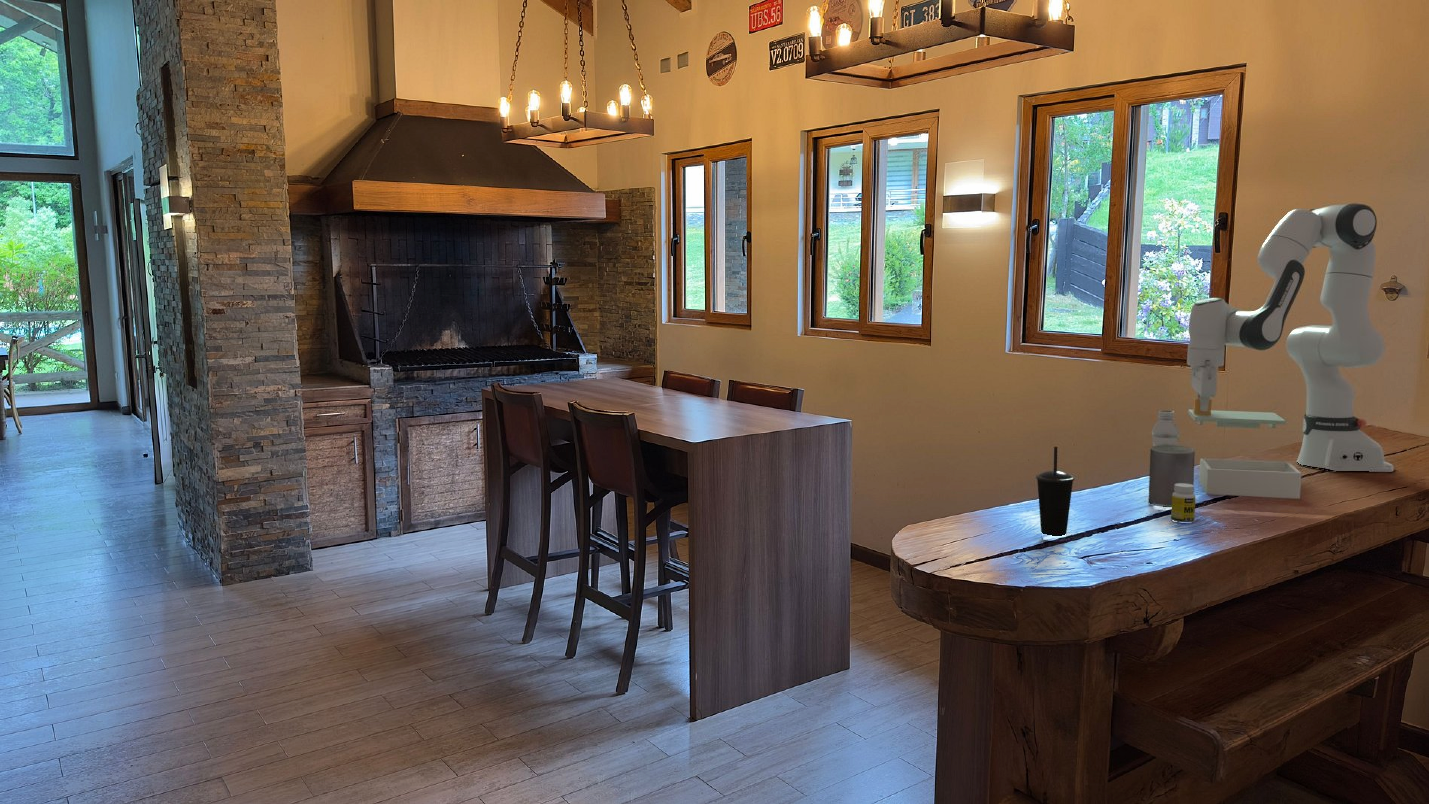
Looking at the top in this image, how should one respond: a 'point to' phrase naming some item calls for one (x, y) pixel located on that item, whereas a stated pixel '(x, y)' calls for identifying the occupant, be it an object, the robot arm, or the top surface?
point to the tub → (1250, 478)
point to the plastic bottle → (1165, 429)
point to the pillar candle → (1169, 471)
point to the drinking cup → (1054, 499)
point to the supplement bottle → (1183, 503)
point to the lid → (1234, 417)
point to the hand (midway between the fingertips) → (1202, 409)
